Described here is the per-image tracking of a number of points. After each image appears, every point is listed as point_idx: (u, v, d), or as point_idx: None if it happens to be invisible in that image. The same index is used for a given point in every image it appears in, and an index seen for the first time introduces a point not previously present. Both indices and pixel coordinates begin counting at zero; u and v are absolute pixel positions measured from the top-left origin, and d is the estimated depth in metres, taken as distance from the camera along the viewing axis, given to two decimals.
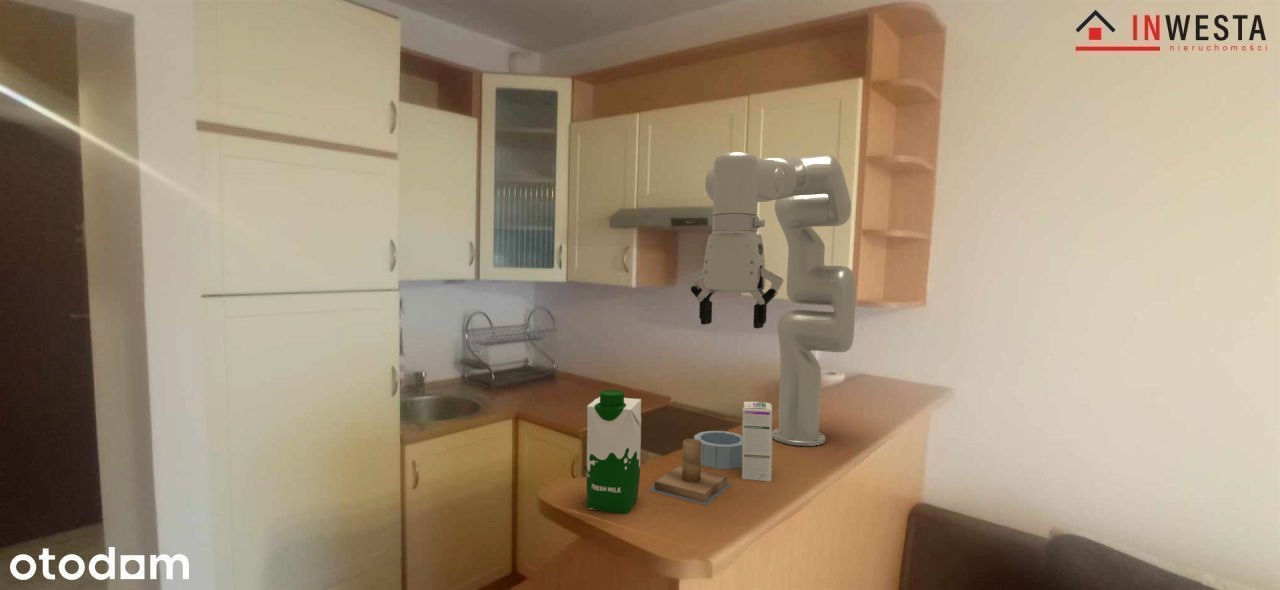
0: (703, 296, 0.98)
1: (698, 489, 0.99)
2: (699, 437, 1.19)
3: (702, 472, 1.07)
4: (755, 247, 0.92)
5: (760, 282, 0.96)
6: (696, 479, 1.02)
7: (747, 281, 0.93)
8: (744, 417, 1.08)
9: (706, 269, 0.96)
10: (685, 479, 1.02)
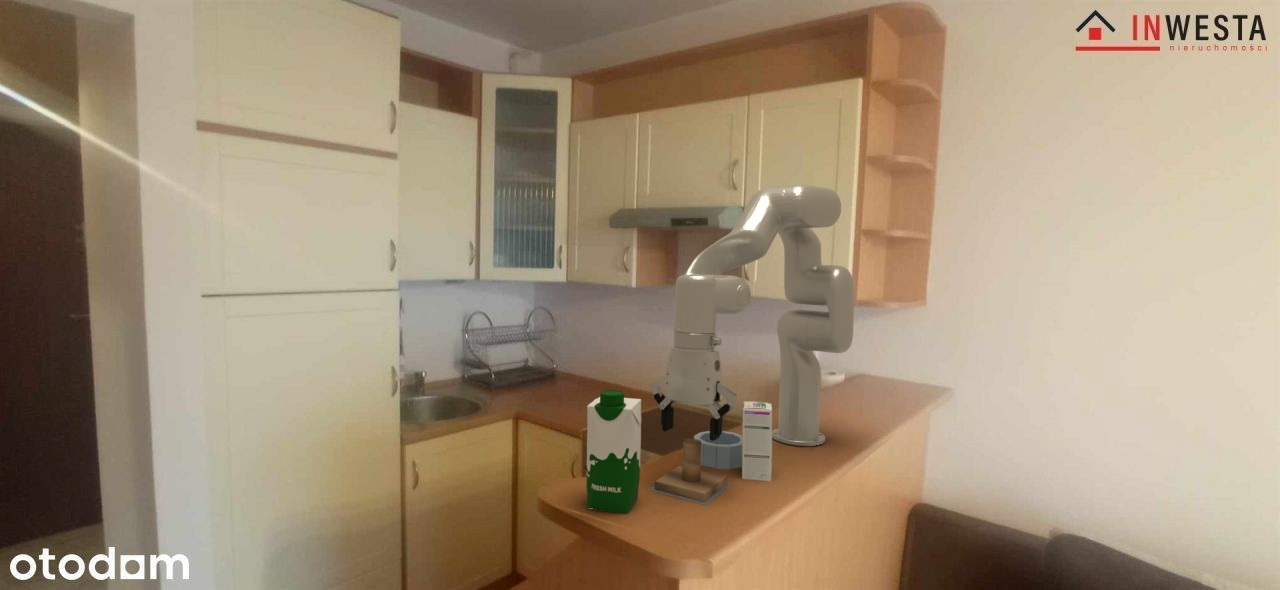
0: (664, 405, 1.04)
1: (698, 489, 0.99)
2: (699, 437, 1.19)
3: (702, 472, 1.07)
4: (712, 365, 0.99)
5: (718, 393, 1.03)
6: (696, 479, 1.02)
7: (704, 396, 0.99)
8: (744, 417, 1.08)
9: (667, 381, 1.03)
10: (685, 479, 1.02)
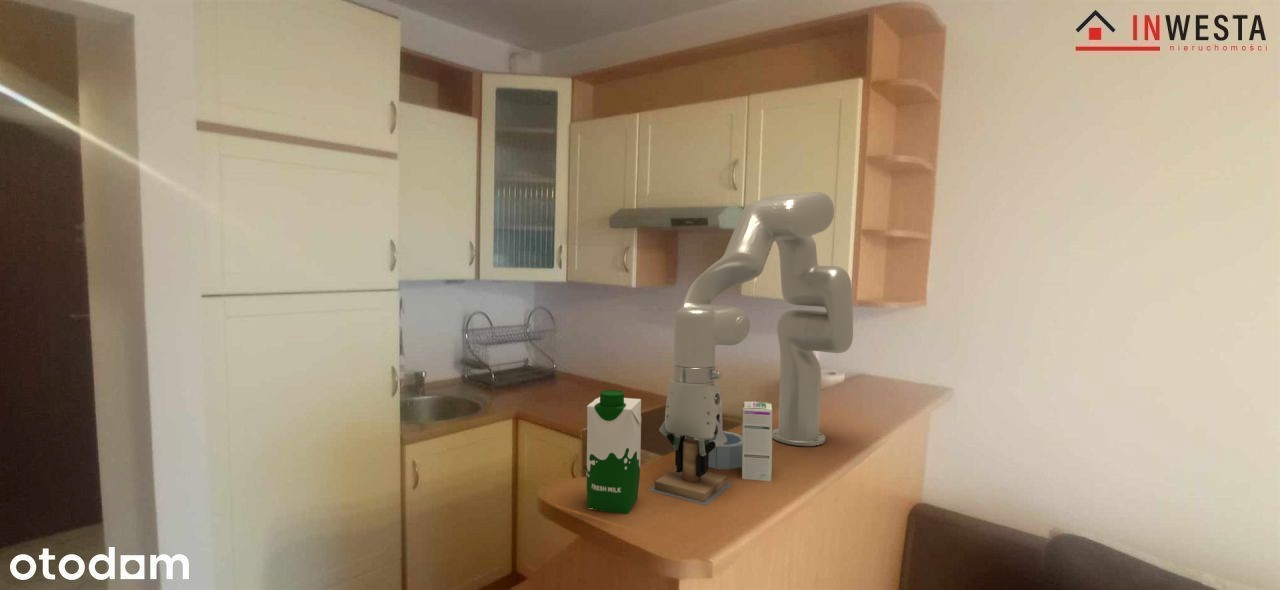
0: (677, 444, 1.03)
1: (698, 489, 0.99)
2: None
3: None
4: (711, 399, 0.99)
5: None
6: (696, 479, 1.02)
7: (704, 430, 1.00)
8: (744, 417, 1.08)
9: (668, 413, 1.03)
10: (685, 479, 1.02)
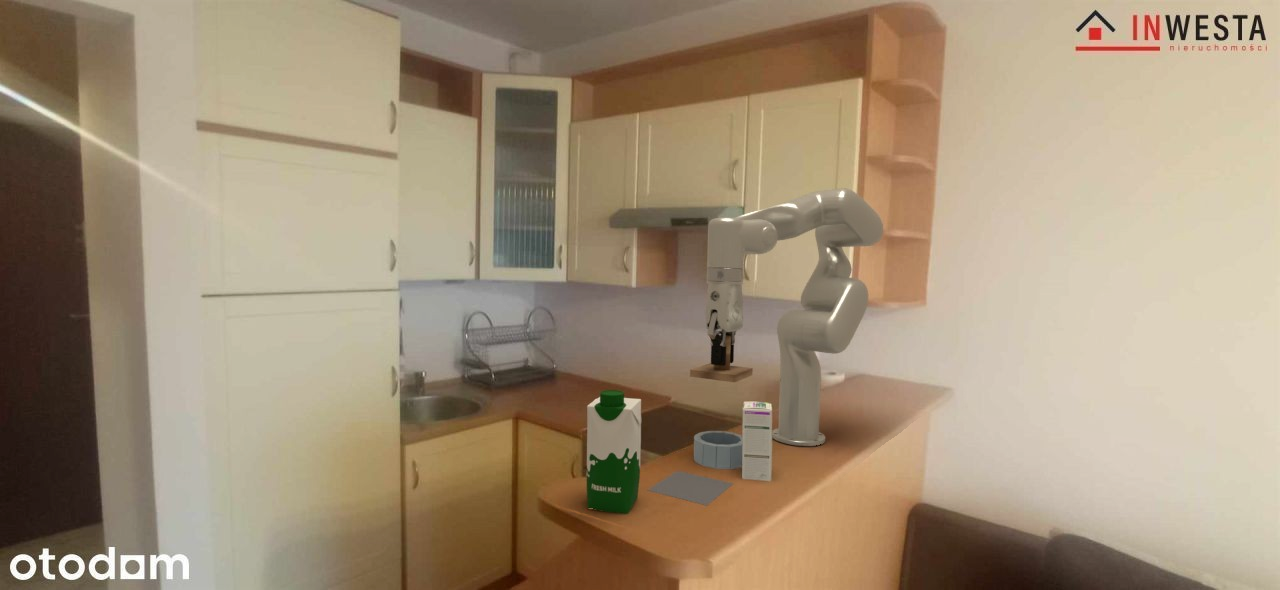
0: None
1: (699, 368, 1.17)
2: (699, 437, 1.19)
3: (739, 371, 1.16)
4: (708, 294, 1.15)
5: (728, 324, 1.13)
6: (715, 367, 1.17)
7: None
8: (744, 417, 1.08)
9: None
10: None
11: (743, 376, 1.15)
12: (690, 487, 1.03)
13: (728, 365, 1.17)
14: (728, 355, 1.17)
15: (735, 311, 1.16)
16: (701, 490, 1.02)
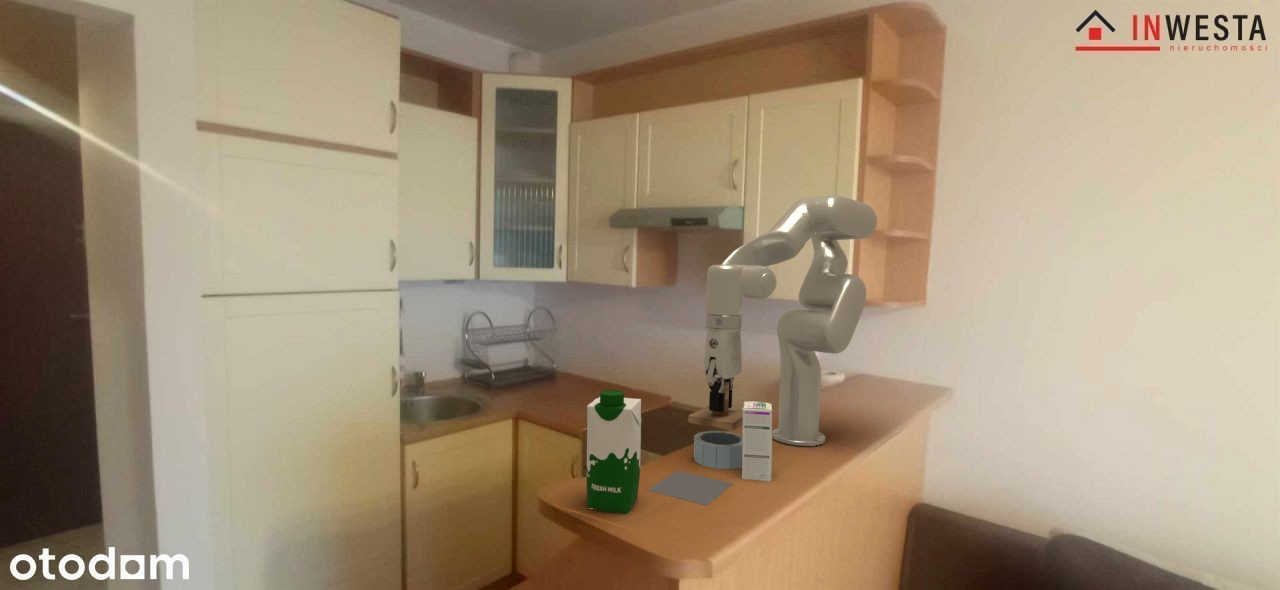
0: None
1: (697, 414, 1.18)
2: (699, 437, 1.19)
3: (737, 417, 1.16)
4: (706, 341, 1.15)
5: (726, 371, 1.13)
6: (713, 413, 1.18)
7: None
8: (744, 417, 1.08)
9: None
10: None
11: (741, 423, 1.16)
12: (690, 487, 1.03)
13: (726, 411, 1.17)
14: (726, 401, 1.17)
15: (734, 358, 1.16)
16: (701, 490, 1.02)
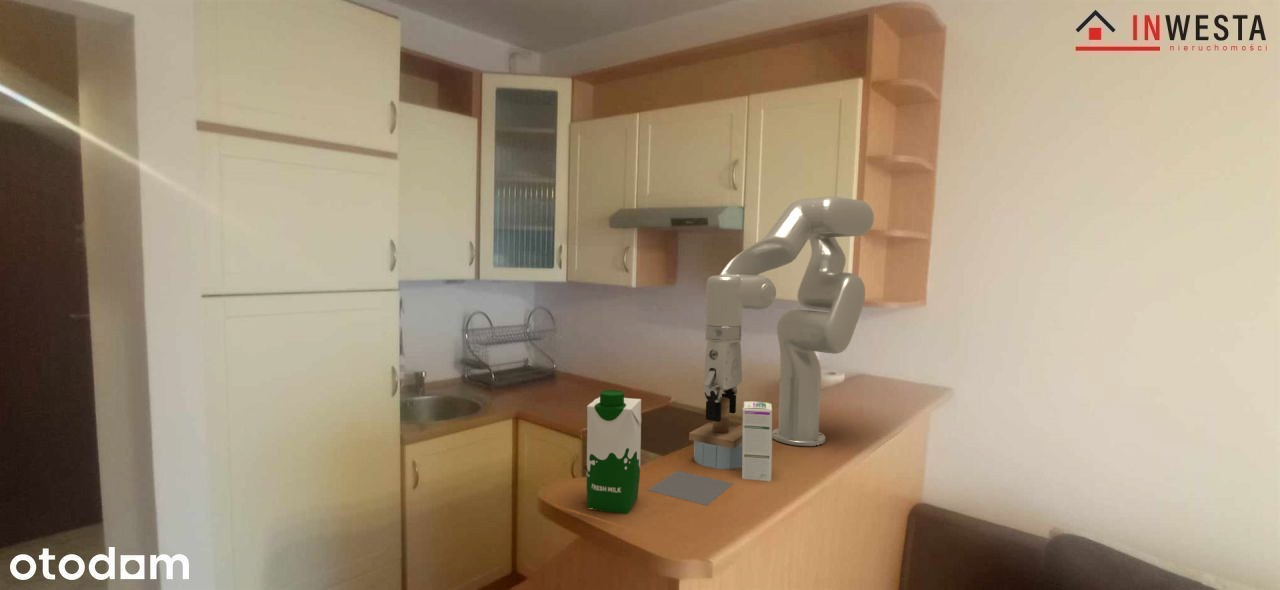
0: None
1: (698, 431, 1.18)
2: None
3: (738, 434, 1.16)
4: (706, 352, 1.15)
5: (726, 383, 1.13)
6: (714, 430, 1.18)
7: None
8: (744, 417, 1.08)
9: None
10: None
11: None
12: (690, 487, 1.03)
13: (727, 428, 1.18)
14: (727, 418, 1.18)
15: (734, 368, 1.16)
16: (701, 490, 1.02)
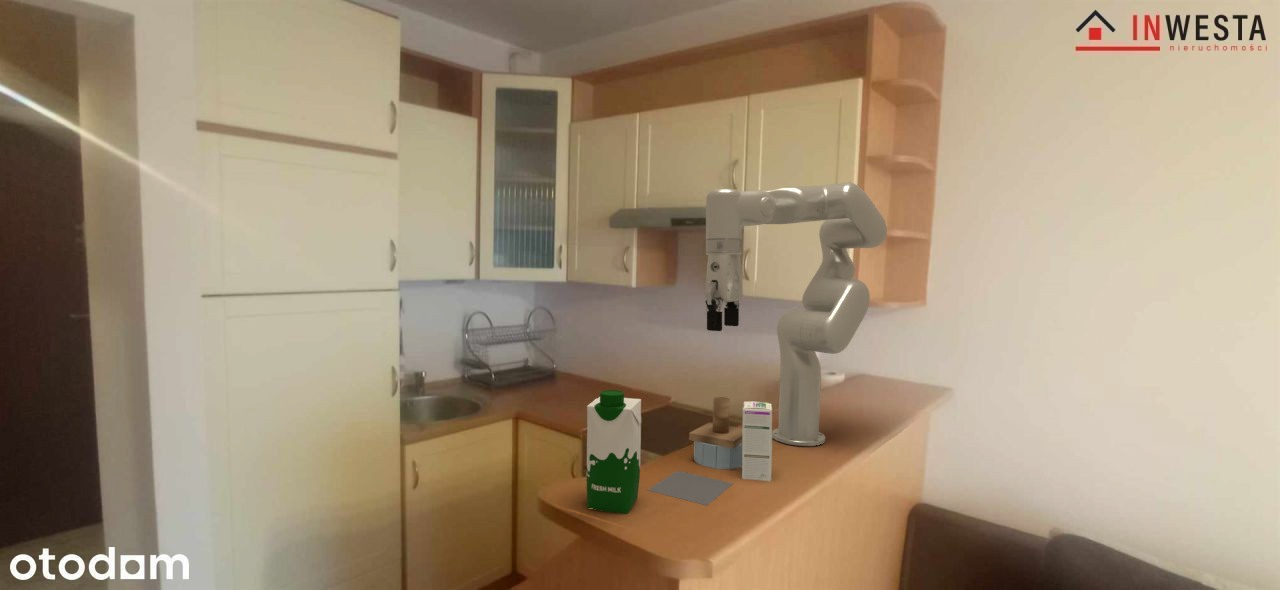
0: None
1: (698, 431, 1.18)
2: None
3: (738, 434, 1.16)
4: (708, 265, 1.16)
5: (728, 294, 1.14)
6: (714, 430, 1.18)
7: None
8: (744, 417, 1.08)
9: None
10: None
11: None
12: (690, 487, 1.03)
13: (727, 428, 1.18)
14: (727, 418, 1.18)
15: (735, 281, 1.17)
16: (701, 490, 1.02)
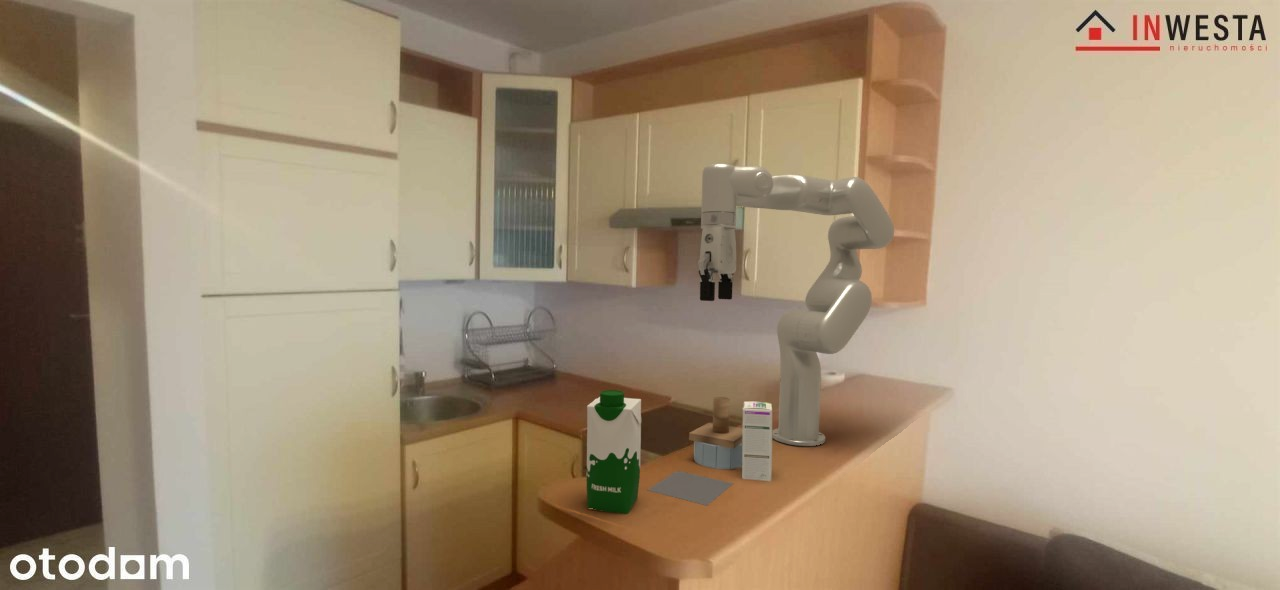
0: None
1: (698, 431, 1.18)
2: None
3: (738, 434, 1.16)
4: (702, 237, 1.19)
5: (721, 265, 1.18)
6: (714, 430, 1.18)
7: None
8: (744, 417, 1.08)
9: None
10: None
11: None
12: (690, 487, 1.03)
13: (727, 428, 1.18)
14: (727, 418, 1.18)
15: (728, 254, 1.21)
16: (701, 490, 1.02)
